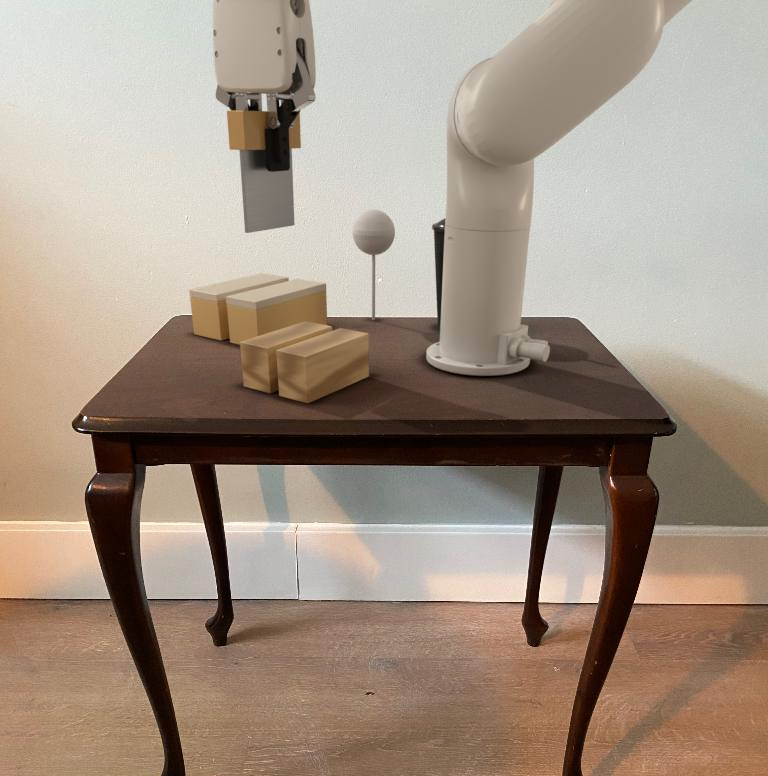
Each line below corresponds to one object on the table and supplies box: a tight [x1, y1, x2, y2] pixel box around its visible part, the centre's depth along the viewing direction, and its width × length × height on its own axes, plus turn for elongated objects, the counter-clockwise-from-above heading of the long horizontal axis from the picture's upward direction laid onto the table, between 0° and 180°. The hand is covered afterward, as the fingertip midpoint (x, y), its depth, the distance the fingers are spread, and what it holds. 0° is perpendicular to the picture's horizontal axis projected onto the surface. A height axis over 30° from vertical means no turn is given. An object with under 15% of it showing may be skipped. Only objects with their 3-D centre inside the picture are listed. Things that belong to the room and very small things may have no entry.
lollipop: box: [352, 209, 396, 321], centre depth 103 cm, size 6×6×15 cm
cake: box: [188, 272, 328, 346], centre depth 100 cm, size 12×14×6 cm
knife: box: [226, 109, 302, 234], centre depth 79 cm, size 2×9×12 cm, turn 147°
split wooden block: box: [239, 321, 370, 404], centre depth 81 cm, size 9×11×5 cm
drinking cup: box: [431, 217, 446, 330], centre depth 98 cm, size 8×8×20 cm
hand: (267, 168), depth 78 cm, fingers closed on knife, 2 cm apart
